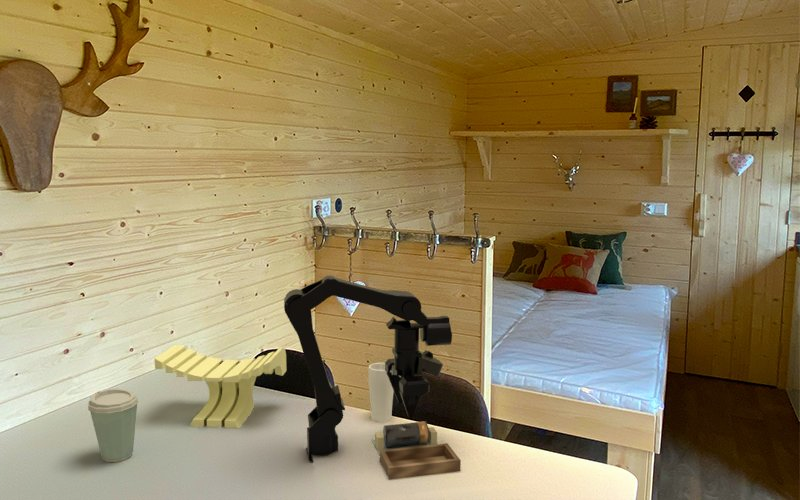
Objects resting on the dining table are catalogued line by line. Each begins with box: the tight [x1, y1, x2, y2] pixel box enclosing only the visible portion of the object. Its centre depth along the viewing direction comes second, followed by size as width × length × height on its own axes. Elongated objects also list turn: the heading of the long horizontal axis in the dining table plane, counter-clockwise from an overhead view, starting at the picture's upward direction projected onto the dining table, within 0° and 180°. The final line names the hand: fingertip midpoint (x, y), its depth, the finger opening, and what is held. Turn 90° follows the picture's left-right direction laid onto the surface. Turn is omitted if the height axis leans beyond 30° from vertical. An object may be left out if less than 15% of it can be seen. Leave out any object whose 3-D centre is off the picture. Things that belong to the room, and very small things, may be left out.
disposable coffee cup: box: [87, 387, 139, 463], centre depth 150 cm, size 11×11×15 cm
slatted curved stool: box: [154, 344, 287, 429], centre depth 175 cm, size 30×16×18 cm, turn 85°
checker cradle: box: [371, 426, 439, 457], centre depth 156 cm, size 15×9×4 cm, turn 105°
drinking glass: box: [368, 362, 394, 423], centre depth 172 cm, size 7×7×15 cm
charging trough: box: [379, 442, 462, 481], centre depth 145 cm, size 16×9×4 cm, turn 105°
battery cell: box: [382, 420, 429, 447], centre depth 156 cm, size 10×5×5 cm, turn 104°
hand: (405, 410), depth 155 cm, fingers open, 9 cm apart
